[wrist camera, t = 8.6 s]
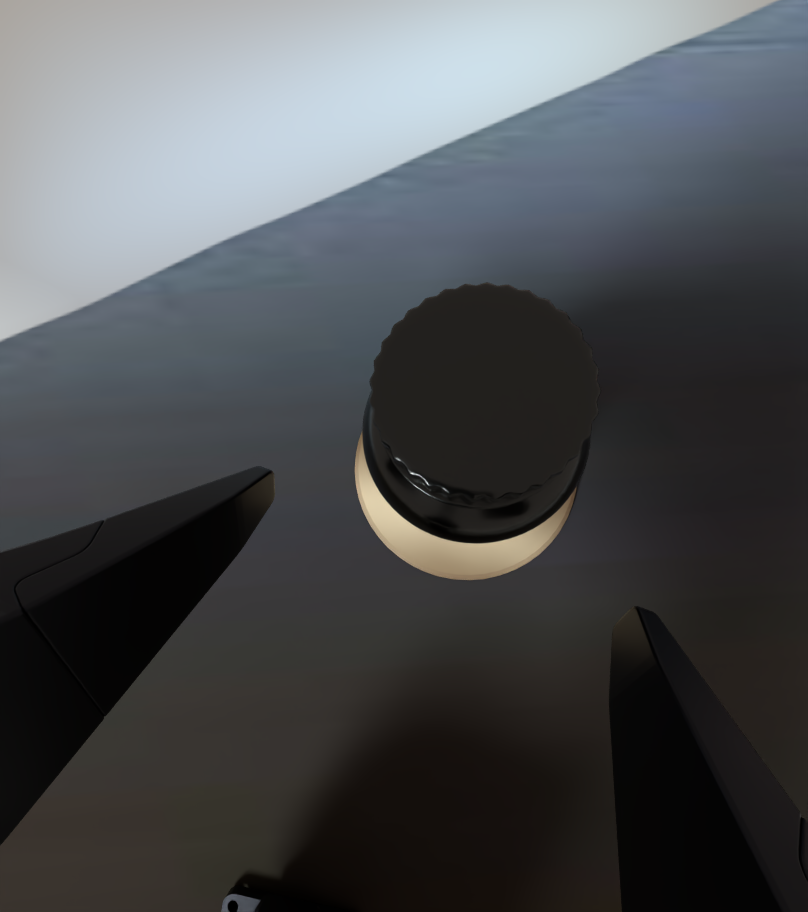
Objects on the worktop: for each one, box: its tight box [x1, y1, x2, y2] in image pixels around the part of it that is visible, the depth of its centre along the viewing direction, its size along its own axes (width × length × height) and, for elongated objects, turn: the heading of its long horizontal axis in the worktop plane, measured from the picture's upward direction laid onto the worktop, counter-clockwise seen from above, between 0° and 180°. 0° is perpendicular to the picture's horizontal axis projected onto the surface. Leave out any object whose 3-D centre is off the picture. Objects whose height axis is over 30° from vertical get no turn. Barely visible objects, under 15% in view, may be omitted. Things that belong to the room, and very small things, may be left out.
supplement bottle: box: [362, 283, 601, 544], centre depth 14 cm, size 7×7×12 cm
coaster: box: [355, 433, 576, 580], centre depth 20 cm, size 12×12×1 cm
